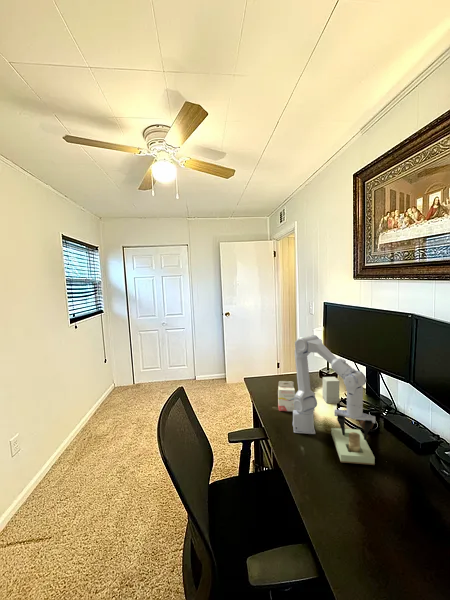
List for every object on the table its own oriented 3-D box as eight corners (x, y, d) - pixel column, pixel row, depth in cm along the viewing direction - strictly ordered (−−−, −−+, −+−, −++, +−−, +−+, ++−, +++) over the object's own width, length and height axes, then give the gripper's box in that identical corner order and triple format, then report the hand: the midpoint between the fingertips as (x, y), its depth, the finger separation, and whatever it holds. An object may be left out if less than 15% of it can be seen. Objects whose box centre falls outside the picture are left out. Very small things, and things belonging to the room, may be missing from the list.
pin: (348, 455, 116) (348, 436, 116) (349, 450, 120) (349, 431, 119) (359, 458, 115) (359, 438, 114) (360, 452, 118) (360, 433, 118)
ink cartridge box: (278, 411, 157) (278, 384, 156) (278, 407, 162) (277, 380, 161) (295, 411, 156) (295, 384, 155) (294, 407, 161) (293, 380, 160)
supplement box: (339, 403, 165) (339, 381, 163) (326, 403, 165) (326, 381, 164) (335, 397, 172) (335, 376, 171) (322, 397, 172) (322, 376, 171)
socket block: (340, 462, 113) (340, 454, 113) (331, 434, 133) (331, 428, 133) (374, 464, 111) (374, 457, 111) (359, 436, 131) (360, 429, 131)
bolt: (355, 418, 151) (369, 433, 136) (346, 413, 151) (359, 428, 136) (361, 408, 151) (375, 422, 136) (352, 404, 151) (365, 417, 136)
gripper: (375, 402, 116) (374, 435, 117) (336, 396, 122) (335, 427, 123) (375, 409, 109) (374, 444, 111) (333, 402, 116) (333, 436, 117)
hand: (354, 436), depth 117 cm, fingers open, 7 cm apart
